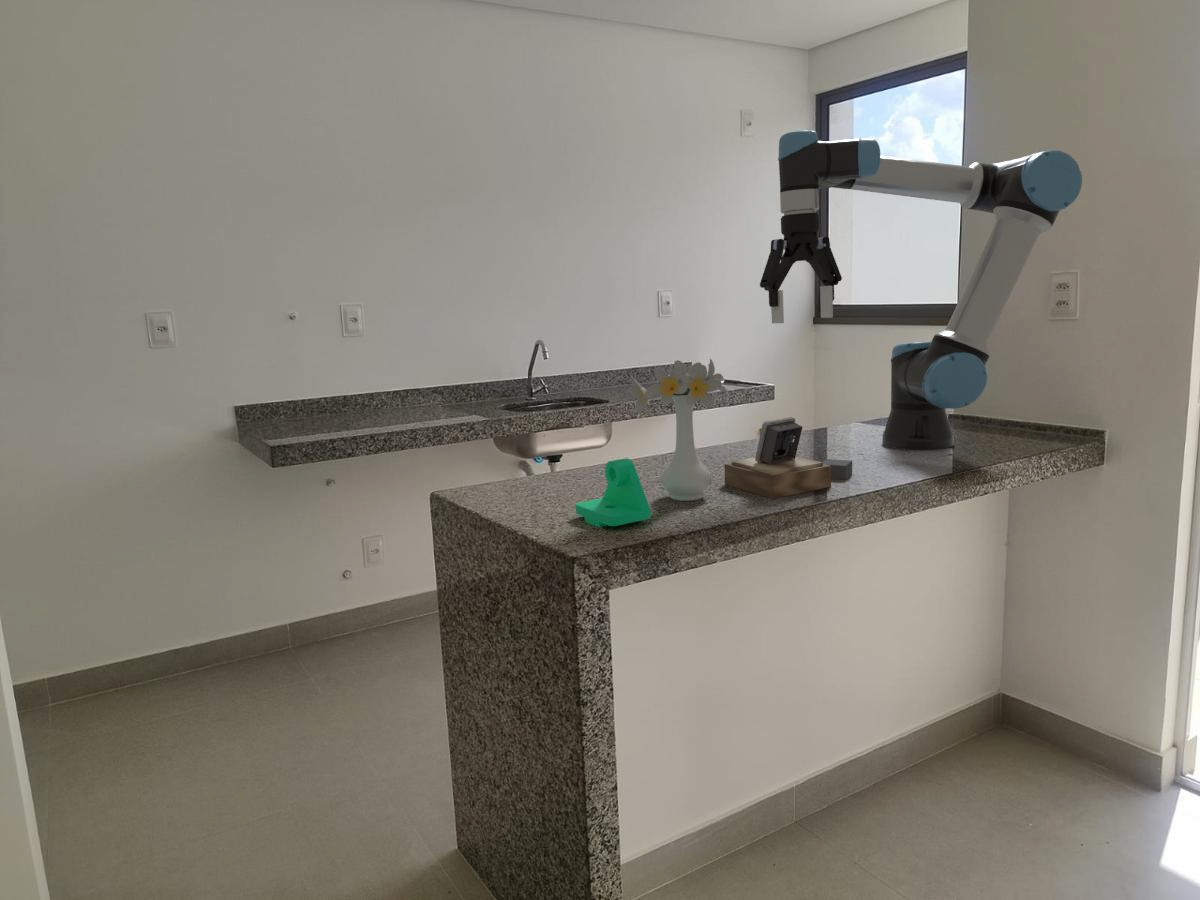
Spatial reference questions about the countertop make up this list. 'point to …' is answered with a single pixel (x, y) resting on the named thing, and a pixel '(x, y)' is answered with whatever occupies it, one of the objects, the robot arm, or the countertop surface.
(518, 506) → the countertop surface
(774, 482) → the wooden box
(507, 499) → the countertop surface
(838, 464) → the rubber block
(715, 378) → the flower vase
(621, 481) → the camera mount
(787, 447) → the electrical switch
